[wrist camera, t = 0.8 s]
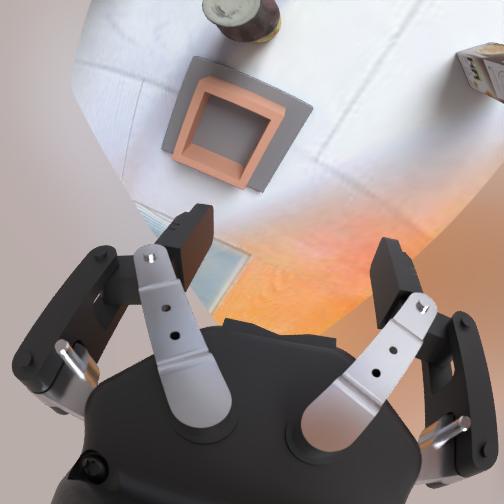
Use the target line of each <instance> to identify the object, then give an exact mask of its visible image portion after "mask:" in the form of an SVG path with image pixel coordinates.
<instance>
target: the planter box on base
mask: <svg viewBox="0 0 504 504" xmlns="http://www.w3.org/2000/svg"><path fill="white" fill-rule="evenodd" d="M312 110H313V106H311V105H309V104H307V103H305V102H304V101H302V100H300V99H298V98H296V97H294V96H292V95H290V94H288V93H286V92H284V91H282V90H280V89H278V88H276V87H273V86H271V85H269V84H267V83H265V82H263V81H260V80H258V79H256V78H253V77H251V76H249V75H246V74H244V73H242V72H239V71H237V70H234V69H232V68H229V67H226V66H224V65H221V64H218V63H216V62H213V61H210V60H207V59H204V58H201V57H198V56H195V57H193V58H192V61H191V63H190V66H189V68H188V71H187V73H186V76H185V79H184V81H183V84H182V87H181V89H180V92H179V95H178V98H177V101H176V104H175V107H174V109H173V112H172V116H171V119H170V122H169V125H168V128H167V131H166V135H165V138H164V141H163V145H162V148H161V149H163V150H165V151H168V152H170V153H173V156H172V159H173V160H175V161H178V162H180V163H183V164H185V165H187V166H190V167H192V168H195V169H197V170H199V171H202V172H204V173H206V174H209V175H211V176H213V177H215V178H218V179H220V180H222V181H225V182H227V183H229V184H231V185H234V186H236V187H238V188H240V189H242V190H244V189H245V187H246V185H247V186H249V187H251V188H253V189H256V190H258V191H260V192H262V193H263V192H264V190H265V188H266V187H267V185H268V183H269V182H270V180H271V178H272V177H273V175H274V173H275V172H276V170H277V168H278V166H279V165H280V163H281V161H282V160H283V158H284V156H285V155H286V153H287V151H288V150H289V148H290V146H291V145H292V143H293V141H294V140H295V138H296V137H297V135H298V133H299V132H300V130H301V128H302V127H303V125H304V123H305V122H306V120H307V118H308V117H309V115H310V114H311V112H312Z"/></svg>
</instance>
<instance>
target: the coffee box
mask: <svg viewBox="0 0 504 504" xmlns="http://www.w3.org/2000/svg"><path fill="white" fill-rule="evenodd" d="M457 55H458V57H459V60H460V62H461V64H462V67H463V69H464V72H465V74H466V77H467V79H468V82H469V85H470V87H471V88H473V89H475V90H478V91H480V92H482V93H484V94H486V95H488V96H490V97H492V98H494V99H496V100H498V101H500V102H502V103H504V45H503V44H498V43H494V42H491V43H487V44H483V45H479V46H476V47H473V48H469V49H466V50H463V51H460V52H457Z"/></svg>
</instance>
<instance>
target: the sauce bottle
mask: <svg viewBox="0 0 504 504" xmlns="http://www.w3.org/2000/svg"><path fill="white" fill-rule="evenodd" d="M202 7H203V12H204V14H205V16H206V17H207V19H208V20H210V21H211V22H212V23H214V24H216V25H217V27H218V28H219V29H220V31H221V32H222V33H223V34H224V35H225V36H226V37H228V38H229V39H232V40H234V41H238V42H247V43H261V42H266V41H268V40H270V39H272V38H273V37H274V36H275V35H276V34H277V33H278V32H279V30H280V27H281V17H280V12H279V8H278V6H277V4H276V2H275V0H203V3H202Z"/></svg>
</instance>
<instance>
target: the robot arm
mask: <svg viewBox="0 0 504 504" xmlns="http://www.w3.org/2000/svg"><path fill="white" fill-rule="evenodd" d="M213 235H214V220H213V206H212V205H205V204H198V203H197V204H196V205H195V206H194V207H193V208H192V210H191V211H190V212H184V213H182V214H180V215H179V216H177V217H176V218H175V219H174V220H173V221H172V223H171V224H170V225H169V226H168V227H167V229H166V230H165V231H164V232H163V234H162V235H161V236H160V237H159V238H158V240H157V241H156V242H155V243H154V244H149V245H145V246H143V247H140V248H139V249H138V250H137V251H136V252H135V253H134V255H130V256H117V252H116V249H115V248H114V247H112V246H108V245H105V246H99V247H96V248H95V249H93V250H91V251H90V252H89V253H88V254H87V256H86V257H85V258H84V259H83V260H82V262H81V263H80V264H79V265H78V266H77V268H76V269H75V270H74V271H73V273H72V274H71V275H70V276H69V278H68V279H67V280H66V281H65V283H64V284H63V285H62V286H61V288H60V289H59V290H58V292H57V293H56V294H55V296H54V297H53V298H52V300H51V301H50V303H49V304H48V305H47V307H46V308H45V309H44V311H43V312H42V314H41V315H40V317H39V318H38V320H37V321H36V323H35V324H34V325H33V327H32V328H31V330H30V331H29V333H28V334H27V336H26V338H25V339H24V341H23V342H22V344H21V345H20V347H19V349H18V351H17V352H16V354H15V356H14V358H13V361H12V370H13V373H14V375H15V376H16V377H17V378H18V379H19V380H20V381H21V382H22V383H23V384H24V385H25V386H26V387H27V388H28V390H29V391H30V392H31V393H32V394H34V395H35V396H36V397H37V398H38V399H39V400H41V401H42V402H43V403H44V404H45V405H47V406H49V407H50V408H52V409H53V410H54V411H55V412H57V413H59V414H62V415H66V414H71V415H73V416H75V417H77V418H79V419H81V420H83V421H84V423H85V437H84V445H83V450H82V453H81V455H80V457H79V459H78V460H77V462H76V463H75V464H74V466H73V467H72V468H71V470H70V471H69V472H68V473H67V474H66V476H65V477H64V478H63V479H62V480H61V482H60V483H59V485H58V487H57V489H56V492H55V494H54V497H53V500H52V502H51V504H405V503H406V500H407V498H408V495H409V493H410V491H411V489H412V488H413V486H414V485H418V484H426V485H427V486H428V487H430V488H433V489H435V488H439V487H443V486H446V485H449V484H452V483H455V482H457V481H461V480H463V479H466V478H469V477H471V476H474V475H476V474H479V473H481V472H483V471H486V470H488V469H490V468H491V467H492V466H493V465H494V463H495V462H496V459H497V456H498V434H497V423H496V413H495V406H494V399H493V393H492V387H491V382H490V377H489V372H488V367H487V363H486V359H485V355H484V351H483V347H482V344H481V340H480V336H479V333H478V329H477V326H476V323H475V322H474V320H473V319H472V318H471V317H470V316H469V315H468V314H467V313H465V312H462V311H457V312H455V313H454V315H453V316H452V317H451V318H449V317H447V316H445V315H443V314H440V313H438V312H437V306H436V304H435V303H434V301H433V300H432V299H431V298H430V297H429V296H427V295H425V294H423V291H422V288H421V285H420V282H419V279H418V276H417V273H416V270H415V269H414V265H413V262H412V260H411V258H410V257H409V256H408V255H407V254H406V252H402V249H401V247H400V244H399V241H398V240H395V239H390V238H386V237H383V238H382V239H381V241H380V243H379V246H378V248H377V251H376V254H375V256H374V259H373V261H372V264H371V268H370V279H371V285H372V291H373V298H374V305H375V312H376V319H377V328H378V329H382V331H381V332H380V333H379V334H378V336H377V337H376V338H375V339H374V340H373V341H372V343H371V344H370V345H369V346H368V347H367V348H366V349H365V351H364V352H363V353H362V354H361V355H360V356H359V357H358V359H355V358H354V357H353V356H351V355H350V354H349V353H347V352H346V351H344V350H342V349H340V348H337V347H336V338H330V337H323V336H317V335H311V334H304V335H278V334H276V333H273V332H271V331H268V330H266V329H264V328H261V327H259V326H257V325H254V324H252V323H247V322H242V321H238V320H233V319H228V318H225V320H224V323H223V326H211V327H206V328H202V329H199V327H198V325H197V322H196V320H195V317H194V315H193V312H192V310H191V308H190V305H189V302H188V300H187V297H186V295H185V292H186V291H187V289H188V287H189V285H190V283H191V281H192V279H193V278H194V276H195V274H196V272H197V270H198V268H199V267H200V265H201V263H202V261H203V259H204V258H205V256H206V254H207V252H208V250H209V248H210V247H211V244H212V241H213ZM98 294H100V295H99V297H98V298H97V300H96V301H95V303H94V300H95V299H96V297H97V296H98ZM93 303H94V304H93ZM136 304H137V305H142V308H143V313H144V317H145V321H146V325H147V329H148V333H149V337H150V341H151V344H152V348H153V352H154V354H153V355H151V356H149V357H147V358H145V359H144V360H142V361H140V362H138V363H136V364H134V365H133V366H131V367H129V368H127V369H125V370H123V371H122V372H120V373H118V374H116V375H114V376H112V377H110V378H108V379H106V380H104V381H103V382H101V383H100V384H99V385H98V380H99V376H100V372H99V368H98V366H97V363H98V361H99V359H100V357H101V355H102V353H103V351H104V349H105V347H106V345H107V343H108V341H109V339H110V338H111V336H112V334H113V332H114V330H115V329H116V327H117V325H118V323H119V321H120V319H121V317H122V316H123V314H124V312H125V311H126V309H127V307H128V305H136ZM414 357H416V358H418V359H421V361H422V371H423V383H424V399H425V429H424V430H423V431H422V432H421V434H420V436H419V441H418V442H417V441H416V439H415V438H414V436H413V435H412V434H411V432H410V431H409V429H408V428H407V427H406V425H405V424H404V422H403V421H402V420H401V418H400V417H399V416H398V414H397V413H396V411H395V410H394V409H393V407H392V406H391V405H390V403H389V402H388V401H387V398H388V396H389V395H390V393H391V392H392V391H393V389H394V388H395V386H396V385H397V383H398V382H399V381H400V379H401V378H402V376H403V375H404V373H405V371H406V370H407V368H408V367H409V365H410V364H411V362H412V360H413V359H414ZM452 360H453V362H454V368H455V372H454V375H453V376H452V369H451V363H450V362H451V361H452Z"/></svg>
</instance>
